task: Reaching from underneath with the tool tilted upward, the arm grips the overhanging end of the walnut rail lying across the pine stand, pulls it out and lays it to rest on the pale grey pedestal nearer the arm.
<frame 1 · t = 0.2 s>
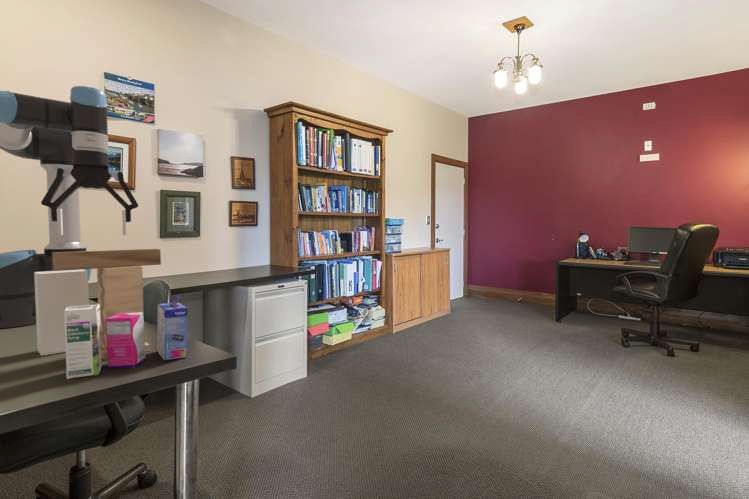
hand: (93, 235, 105), 29 cm above the table, tool pointing down, fingers open, 13 cm apart
syrup box: (85, 373, 88), on the table
stand: (122, 350, 103), on the table
ink cartridge box: (172, 355, 101), on the table
pedestal: (64, 349, 104), on the table
supplement box: (127, 365, 93), on the table
rail: (110, 266, 101), point 21 cm above the table, touching stand
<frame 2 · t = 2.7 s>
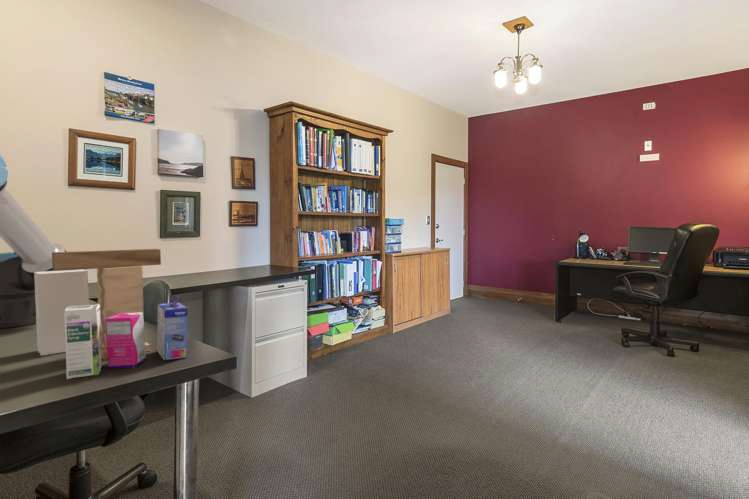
hand: (1, 198, 89), 38 cm above the table, tool pointing upward, fingers open, 13 cm apart
nothing on the table moved.
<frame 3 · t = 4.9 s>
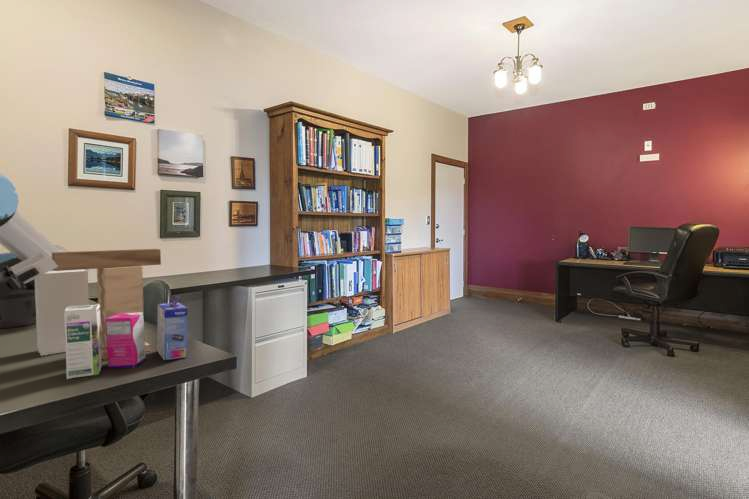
hand: (49, 259, 92), 24 cm above the table, tool pointing upward, fingers open, 13 cm apart
nothing on the table moved.
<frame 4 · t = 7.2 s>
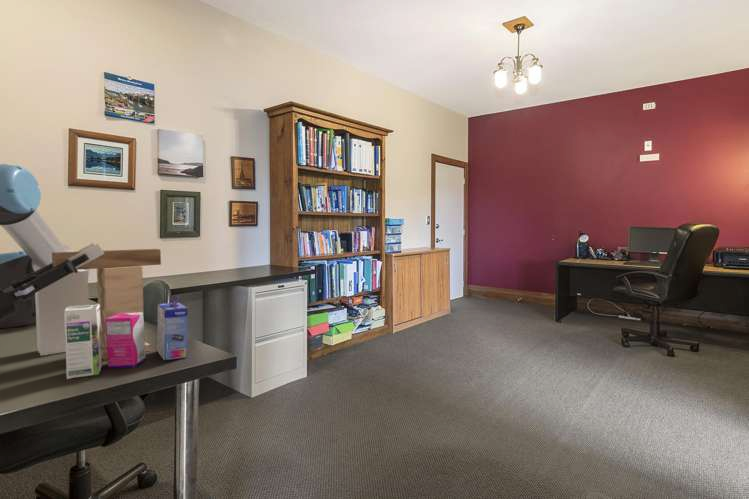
hand: (98, 248, 99), 26 cm above the table, tool pointing upward, fingers closed on rail, 4 cm apart
rail: (110, 266, 101), point 21 cm above the table, touching gripper, stand
everything else where it was.
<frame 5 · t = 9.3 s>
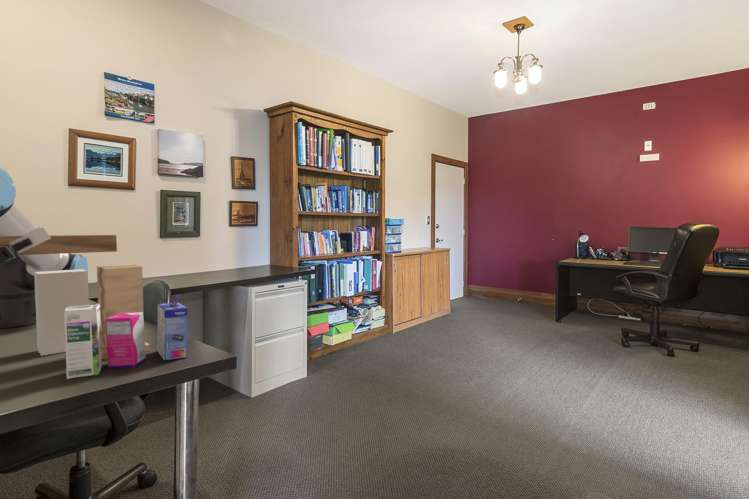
hand: (45, 232, 91), 30 cm above the table, tool pointing upward, fingers closed on rail, 4 cm apart
rail: (59, 253, 93), point 25 cm above the table, touching gripper
everything else where it was.
when the fingers open (25 cm above the table, at t = 11.7 s): rail stays where it is, resting on pedestal.
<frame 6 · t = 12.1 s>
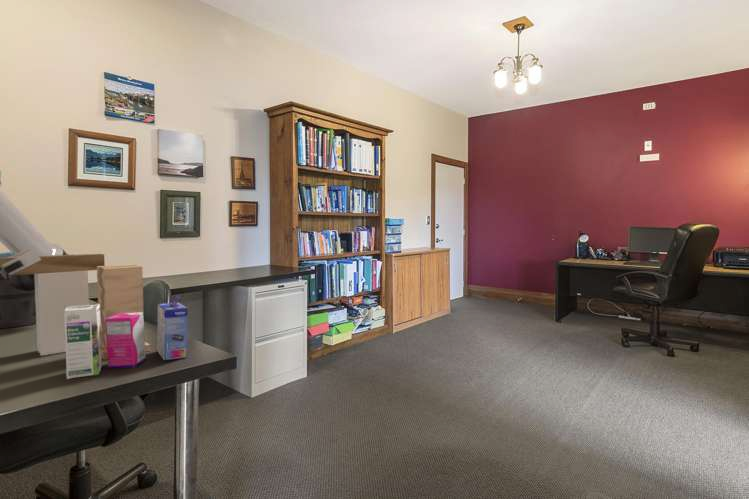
hand: (34, 253, 99), 25 cm above the table, tool pointing upward, fingers open, 9 cm apart
rail: (51, 272, 102), point 20 cm above the table, touching pedestal
everything else where it was.
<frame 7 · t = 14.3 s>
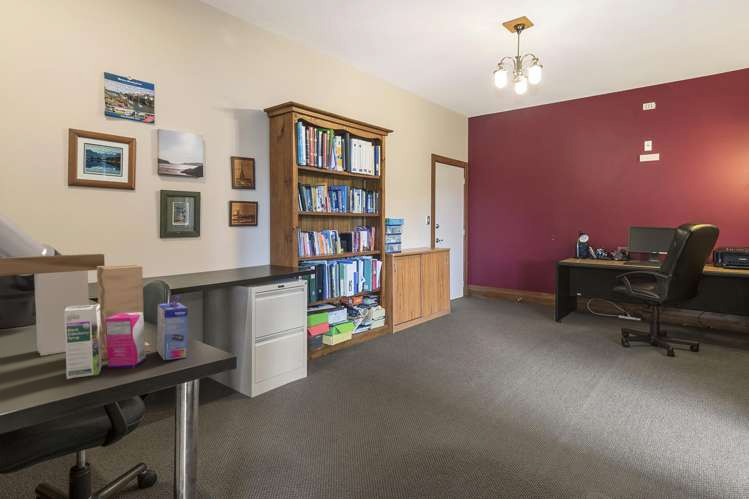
nothing on the table moved.
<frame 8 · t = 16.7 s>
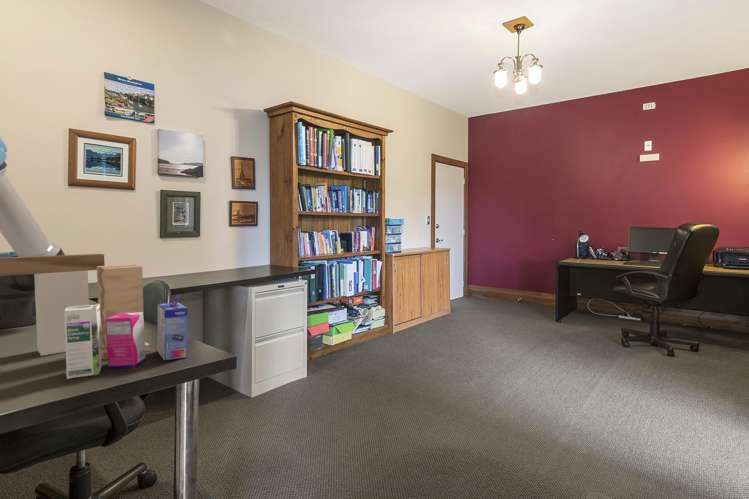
nothing on the table moved.
at the end: rail inside the target area on the pedestal (0.5 cm from its centre), point 20.0 cm above the pedestal's base; rail touching pedestal; the gripper is holding nothing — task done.
